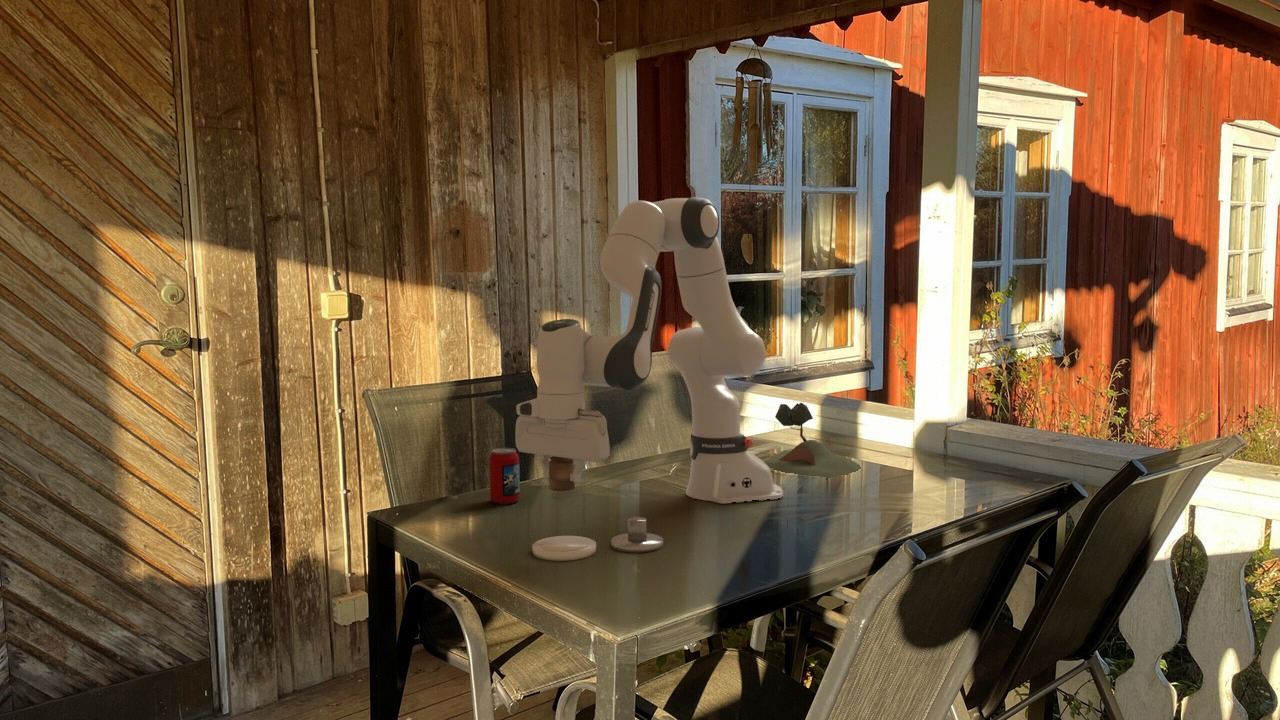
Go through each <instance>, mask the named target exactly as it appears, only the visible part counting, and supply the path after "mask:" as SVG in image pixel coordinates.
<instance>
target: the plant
mask: <svg viewBox="0 0 1280 720" xmlns="http://www.w3.org/2000/svg"><path fill="white" fill-rule="evenodd" d="M779 404H780V405H779V407H778V410H777V412H776V414H775V416H774V417H775V419H776V420H777V421H778V422H779V424H781V425H782V426H783V427H790V429H791V430H796V431H799V436H800V438H801V440H802V442H800V443H798V444H797V445H796V446H795V447H794V448H789V449H785V450H781V451H779V452H780V453H778V452H777V453H778V454H776V453H774V454H772V455H773V456H771V455H770V456H771V457H770V456H768V457H769V458H770V459H768V460H766V459H765V460H766V461H765V460H764V461H765V462H764V461H763V462H764V463H765V464H766V465H767V466H768V467H769V468H773V470H777V471H781V472H785V473H794V474H800V475H807V476H809V475H810V476H820V477H828V478H831V477H836V476H840V475H848V474H849V473H852V472H856V471H858V470H859V469H861V467H862V466H861V467H860V464H859V463H857V462H856V461H854V460H852V459H851V458H848V457H846V456H844V455H839V454H837V453H834V452H832V451H831V450H830V449H829V448H828V447H826V445H824V443H822V442H820V441H817V440H816V439H808V440H807V438H806V437H805V436H804V434H803V432H804V430H803V425H804V424H805V423H807V422H808V421H811V420H813V419H814V417H813V416H812V413H811V411H810V409H809V407H808V405H806V404H804V403H803V402H799V403H796V404H795V405H794V406H793V407H792V408H791V407H790V406H789V405H787V404H786V403H779ZM793 426H796V427H797V426H798V427H800V428H793ZM850 459H851V460H850Z"/></svg>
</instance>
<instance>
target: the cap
mask: <svg viewBox="0 0 1280 720" xmlns="http://www.w3.org/2000/svg"><path fill="white" fill-rule="evenodd" d="M575 467H576V465H574V464H573V459H568V458H561V457H553V456H551V457H550V459H549V479H548V489H549V490H550V491H553V492H568V491H572V490H575V488H576V487H575V486H576V485H575V484H576V483H572V482H570V481H569V479H570V477H569V473H573V471H574V469H575Z"/></svg>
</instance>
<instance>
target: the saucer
mask: <svg viewBox="0 0 1280 720" xmlns="http://www.w3.org/2000/svg"><path fill="white" fill-rule="evenodd" d="M596 552H597V542H596V541H595V540H594V539H592V538H589V537H584V536H580V535H557V536H550V537H545V538H541V539H538V540H536V541H534V542H533V544H532V554H533V556H534V557H536V558H538V559H541V560H542V559H543V560H547V561H558V562H560V561H561V562H562V561H563V562H565V561H575V560H581V559H584V558H589V557H591V556H593V555H594V554H596Z"/></svg>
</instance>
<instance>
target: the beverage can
mask: <svg viewBox="0 0 1280 720" xmlns="http://www.w3.org/2000/svg"><path fill="white" fill-rule="evenodd" d="M488 461H489V463H488V464H489V467H488V468H489V469H488V470H489V496H490V497H489V499H490V500H491V501H492V502H494V503H495V504H497V503H499V504H498V505H509V503H511V504H513V503H516V502H517V501H518V500H519V499H520V498H521V497H520V496H521V495H520V494H521V488H520V487H521V486H520V485H521V484H520V483H521V482H520V479H521V478H520V456H519V454H518V452H517V448H516V449H515V448H514V447H500V448H499V447H498V448H493V449H492V451H491V454H490V455H489V459H488Z"/></svg>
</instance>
